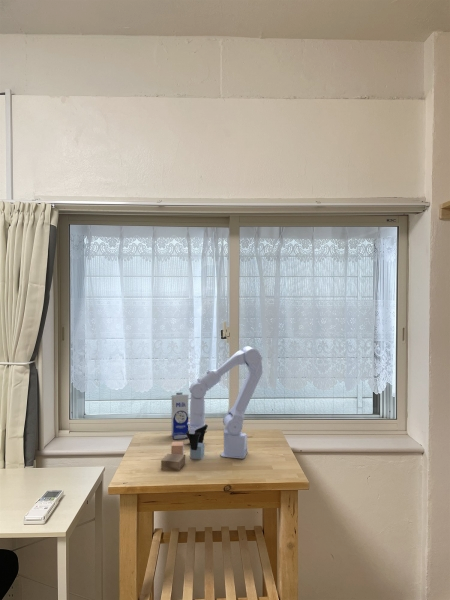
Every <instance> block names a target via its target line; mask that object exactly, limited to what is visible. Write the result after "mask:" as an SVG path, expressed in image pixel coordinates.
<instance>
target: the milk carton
mask: <svg viewBox="0 0 450 600" xmlns="http://www.w3.org/2000/svg"><path fill="white" fill-rule="evenodd" d="M170 397H171V437H172V440H186V439H188V438H185V437H187V435H186V432H187V431H189V425H187V423H188V422H189V394H183V392H176V394H173V395H171V396H170ZM188 440H189V439H188Z"/></svg>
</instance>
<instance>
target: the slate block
mask: <svg viewBox="0 0 450 600" xmlns="http://www.w3.org/2000/svg"><path fill="white" fill-rule="evenodd" d="M189 454H190V455H189V459H192V460H200V461H201V460H202V459H203V458H204V456H205V442H203V443H198V447H197V450H191V446H189Z"/></svg>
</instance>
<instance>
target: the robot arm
mask: <svg viewBox="0 0 450 600" xmlns="http://www.w3.org/2000/svg"><path fill="white" fill-rule="evenodd" d="M262 360H263V357H262V355H261V354H260V351H259V350H257V349H255V348H253V347H251V346H249V345H246V346H242V348H241V349H240V350H237V351H236V352H234V354H232V356H231V357H229V358H228V359H227V360H226V361H225V362H224V363H222V364H221V365H220V366H219V367H217V368H216V369H210V370H206V371H205V374H204V375H203V376H201V377H198V378H197V379H196V381H193V382H192V383H191V384H190V386H189V389H188V390H189V393H190V402H189V406H190V407H189V410H190V411H189V421H188V423H187V425H188V426H190V427H188V431H187V432H186V435H187V437H188V440H189V445H190V446H191V450H197V447H198V443H204V441H205V439H204V438H205V435H206V433H205V432H206V431H207V429H208V427H209V426H208V425H209V424H206V418H205V405H206V403H205V396H206V394H207V392H208V391H209V390H211V389H212V388H213V387H215V386H217V384H218V383H220V382H221V381H222V380H221V379H222V376H223V375H225V374H227V373H228V372H229V371H231V370H232V369H234V368H236V366H238V365H246V368H247V370H248V373H247V375H246V377H245V379H244V381H243V384H242V386H241V389H240V390H239V392H238V395H237V398H236V399H235V401H234V404H233V406H232V407H231V408H230V409H229V411H228V412H227V413H226V414H225V415H224V416H223V419H222V424H223V425H224V430H223V451H222V453H221V454H220V457H222V458H231V459H232V458H233V459H241V460H242V459H243V460H244V459H245V458H246V455H247V454H248V434H247V433H245V432H242V430H243V423H244V420H245V413H246V410H247V408H248V405H249V404H250V401H251V399H252V396H253V394H254V392H255V390H256V388H257V386H258V384H259V381H260V380H261V378H262V375H263V365H262V363H263V362H262ZM190 446H189V447H190Z"/></svg>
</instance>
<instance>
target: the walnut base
mask: <svg viewBox="0 0 450 600" xmlns="http://www.w3.org/2000/svg"><path fill="white" fill-rule="evenodd" d="M185 464H186V455H185V454H183V455H179V454H171V453H167V454H166V455H165V456H164V457H163V458H162V459H161V460H160V467H161V470H165V471H166V470H167V471H178V472H180V470H181V469H182V468H183V467H184V465H185Z"/></svg>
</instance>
